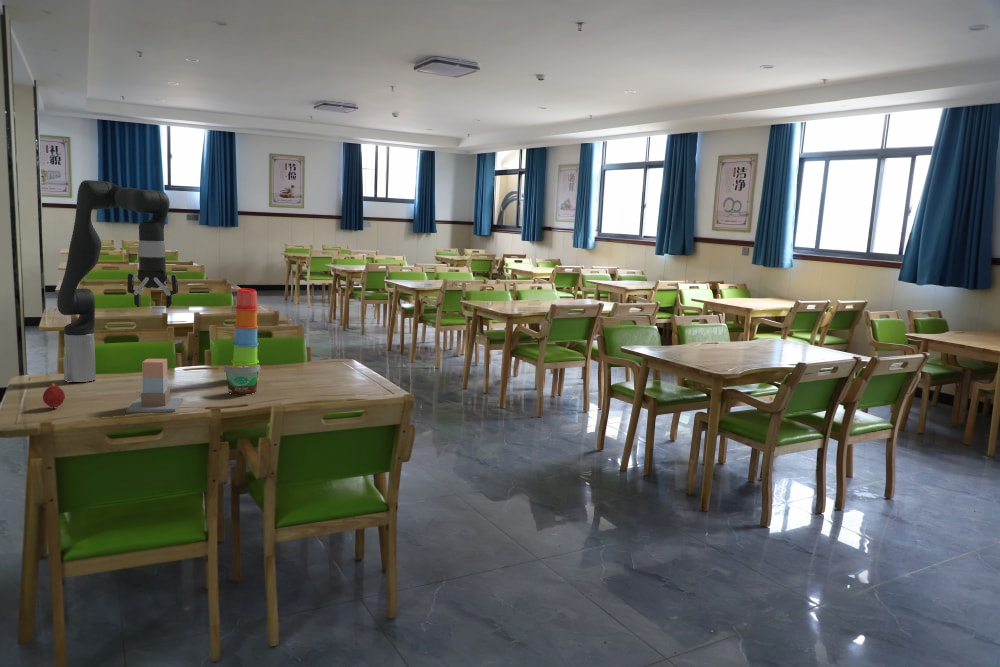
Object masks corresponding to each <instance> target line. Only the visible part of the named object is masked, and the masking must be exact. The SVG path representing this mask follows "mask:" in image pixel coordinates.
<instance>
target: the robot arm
mask: <svg viewBox="0 0 1000 667" xmlns="http://www.w3.org/2000/svg"><path fill="white" fill-rule="evenodd" d="M76 196H77V198H76V208H75V219H74V223H73V224H74V225H73V229H72V235H71V239H70V242H69V243H70V244H69V249H68V254H67V260H66V266H65V272H64V273H63V274H64V275H63V278H62V281H61V285H60V287H59V291H58V294H57V300H56V303H57V304H56V305H57V309H58V312H59V313H60V314H61V315H63V316H78V315H79V316H78V318H77V319H76V320H74V321H72V322H70V323H68V324H66V325H65V326H64V327H63V332H64V334H63V335H64V338H63V339H64V352H65V354H64V355H63V357H62V358H63V359H62V360H63V362H62V363H63V380H67V381H72V382H86V383H88V382H87V381H92V380H95V379H96V375H97V373H96V351H95V350H96V349H95V348H96V347H95V346H96V345H95V326H96V325H95V324H96V318H95V317H96V312H95V311H96V298H95V295H94V293H93V291H92V290H91V289H90V288H84V287H83V288H78V286H79V285H80V283H81V282H82V280H83V279H84V278H85V277H86V276H87V275H88V274H90V272H91V271H92V270H93V269H94V268H95V267H96V265H97V264H98V262H99V260H100V255H101V251H102V250H101V249H102V241H101V239H100V238H101V237H100V236H99V234H98V232H97V230H96V229H95V227H94V225H93V222H92V212H93V209H94V210H110V209H115V208H121V209H122V210H123V209H124V210H128V211H134V212H135V213H140V214H152V217H151V219H149V220H144V221H141V222H140V223H139V224H138V274H137V273H133V272H130V273H128V274H127V287H126V288H127V289H126V291H127V293H129V294H132V295H133V297H134V298H133V300H134V301H133V302H134V305H135V306H136V308H140V307H141V303H142V302H141V300H142V299H141V294H140V293H142V291H143V290H144V289H159V288H160V289H161V290H162V291H163V292H164V294H166V296H165V307H166V309H167V308H168V309H169V308H170V307H171V306H172V305H173V297H172V296H173V295H177V294H178V293H179V286H178V285H179V284H178V275H177V274H175V273H174V274H167V269H166V266H167V264H166V263H167V262H166V254H167V252H166V245H165V225H166V221H167V217H168V214H169V210H170V198H169V197H168V194H167V193H166V192H164V191H163V190H154V189H153V190H152V189H140V188H136V187H135V188H134V187H123V186H120V185H117V184H115V183H113V182H110V181H105V180H104V181H103V180H92V179H89V180H88V179H87V180H86V179H85V180H82V181H81V182H80V184H79V186H78V189H77V195H76ZM137 279H138V280H139V282H140V284H139V285H138V286H137V288H136V289H135V288H134V286H135V281H136V280H137ZM167 280H168V281H169V283H170V282H171V288H172V289H170V288H169V286H168V285H167V283H166V281H167ZM96 380H97V379H96ZM96 380H95V381H96ZM92 382H93V381H92Z"/></svg>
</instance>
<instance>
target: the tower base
mask: <svg viewBox="0 0 1000 667" xmlns="http://www.w3.org/2000/svg"><path fill="white" fill-rule="evenodd" d="M184 401H185V399H184V397H171V388H167V390H166V391H165V392H164V393H146V394H143V392H141V395H140V397H139V398H138V397H137V399H135V400H134V402H132V404H130V406H128V407H127V408H126V413H168V412H167V411H175V412H177V410H178V409H179V408H180V406H181V405H182V403H183V402H184Z"/></svg>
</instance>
